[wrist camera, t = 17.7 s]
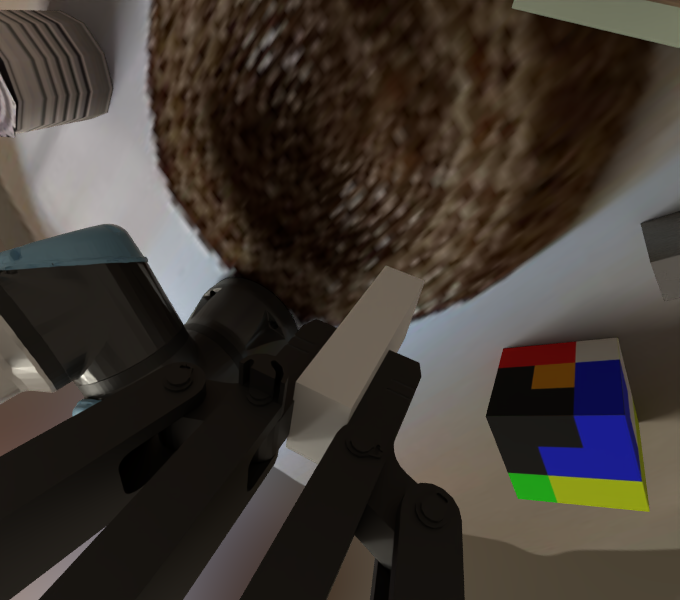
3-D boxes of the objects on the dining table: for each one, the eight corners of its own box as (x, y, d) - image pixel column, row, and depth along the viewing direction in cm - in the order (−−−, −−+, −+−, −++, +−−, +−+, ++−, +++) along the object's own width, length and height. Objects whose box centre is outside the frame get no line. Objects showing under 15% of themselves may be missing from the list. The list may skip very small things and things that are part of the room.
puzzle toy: (617, 336, 38) (625, 415, 30) (638, 422, 41) (649, 511, 34) (503, 348, 44) (485, 416, 36) (529, 422, 47) (518, 498, 39)
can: (122, 60, 47) (11, 70, 38) (104, 139, 54) (7, 163, 45) (45, -16, 46) (-86, -24, 37) (37, 74, 54) (-73, 86, 45)
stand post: (652, 256, 33) (664, 301, 28) (640, 223, 33) (650, 262, 27) (700, 244, 32) (722, 288, 26) (689, 208, 31) (710, 247, 26)
